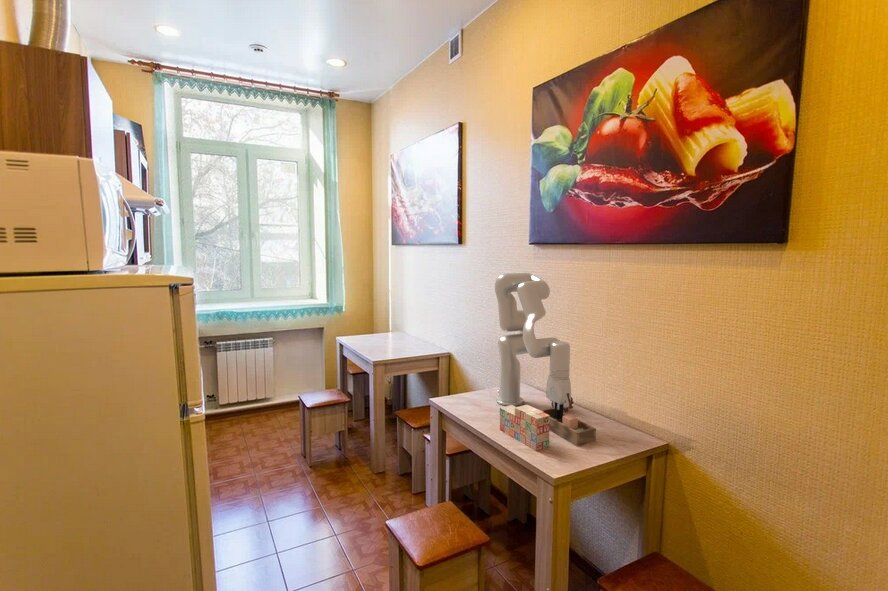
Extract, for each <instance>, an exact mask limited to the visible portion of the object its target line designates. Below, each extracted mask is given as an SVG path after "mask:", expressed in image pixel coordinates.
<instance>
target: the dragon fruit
mask: <svg viewBox="0 0 888 591" xmlns="http://www.w3.org/2000/svg"><path fill="white" fill-rule="evenodd" d="M574 403H575V402H574V399H573V397H572V396H571V402H570V403H569V407H567V408H564V409H563V412H564V413H566V414H567V412H568V411H569V409H573V408H574V405H573V404H574ZM551 408H553V403H552V402H551Z"/></svg>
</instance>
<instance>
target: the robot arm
mask: <svg viewBox="0 0 888 591" xmlns="http://www.w3.org/2000/svg"><path fill="white" fill-rule="evenodd" d="M494 292H495V295H496V296H495V297H496V300H497V304H498V305H497V306H498V307H497V309H498V321H499V322H498V323H499V326H500V330H502V331H503V332H504V333H505V332H506V333H507V332H508V333H510V332H511V334H505V335H503V336H501V337H500V338H499V339H498V341H497V350H498V356H499V389H497V390H496V391H497V392H496V393H498V396H496V398H495V401H496V403H498V404H499V405H501V406H505V407H506V406H510V405H513V406H515V407H518V406H522V404H523V403H524V398H523V397H521V362H520V360H519V359H518V357H517V356H519V355H525V354H529V356H531V358H532V359H540V358H549V374H548V375H547V379H546V388H545V389H546V392H545V397H546V398H547V399H548V401H550V402H551V403H553V407H552V408H554V418H556V419H561V418H562V417H563V412H564V411H563V409H564V408H567V407H569V403H570V402H571V397H572V387H571V378H570V366H571V364H570V363H571V361H570V360H571V345H570V344H569V343H568V342H566V341H562V340H560V339H559V338H557V337H544V338H543V337H542V338H537V337H536V335H535V329H534V327H535V323H537V322H538V321H540V320H542V318H545V316H546V313H547V312H546V309H545V306H544V304H543V301H542V300H547V299H548V298H549V297H550V293H551V290H550V287H549V285H548V283H547V282H546V281H545V280H544V279H542V278H540V277H538V276H537V275H535V274H533V273H530V272H529V273H528V272H512V273H511V272H509V273H503V274H500V275H498V277H497V278H496V279H495V282H494ZM515 292H516V293H517V296H518V298H519V302H520V304H521V307H522V309H521V310H519V309H518V304H517V300H516V298H515V296H514V295H513V293H515ZM512 332H518V333H514V334H512Z"/></svg>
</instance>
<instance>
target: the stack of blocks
mask: <svg viewBox="0 0 888 591" xmlns="http://www.w3.org/2000/svg"><path fill="white" fill-rule="evenodd" d="M540 410H541V409H538V408H536V407H533V406H531V405H529V404H524V405H519V406H513V405H510V406H506V405H505V406H502V407H499V430H500V431H501V432H503V433H505V434H506V435H508V436H510V438H513V439H515V440H516V441H518V442H520V443H522V444H523V445H524V446H527V447H528V448H530V449H532V450H533V451H535V452H538V451H541V450H546V449H548V448H549V447H550V415H548V414H546V413H544V412H543V411H540Z"/></svg>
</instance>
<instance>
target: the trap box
mask: <svg viewBox="0 0 888 591" xmlns="http://www.w3.org/2000/svg"><path fill="white" fill-rule="evenodd" d="M539 410H540V411H543V412H544V413H546V414H548V415H550V430H549V432H551V433H553V434H555V435H557V436H559V438H562V439H563V440H564V441H565V440H566V441H567V442H569V443H571V444H572V445H574V446H576V447H580V446H584V445H587V444H592V443H596V442H597V428H596V427H594V426H592V425H590V424H588V423H586V422H584V421H582V420H580V419H578V428H576V429H572V428H570V427H568V426H566V425H564V424H562V418H561V419H556V418H554V408H553V407H550V408H545V409H539ZM565 415H569V414H567V412H566V413H565V412H564V411H563V416H565Z"/></svg>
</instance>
